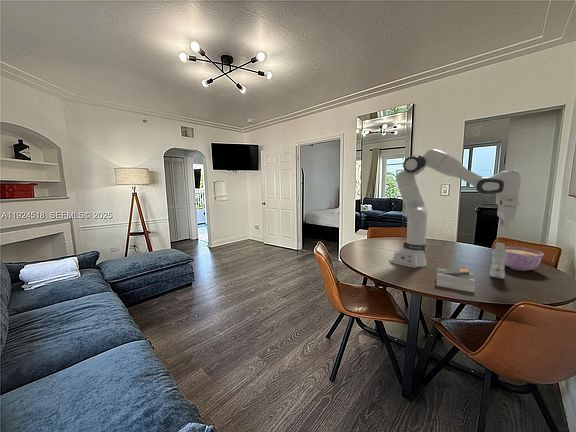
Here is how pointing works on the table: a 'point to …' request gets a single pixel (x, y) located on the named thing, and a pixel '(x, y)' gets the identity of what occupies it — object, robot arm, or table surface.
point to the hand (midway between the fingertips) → (503, 226)
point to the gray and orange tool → (455, 272)
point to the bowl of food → (522, 258)
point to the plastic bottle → (498, 261)
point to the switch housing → (456, 281)
